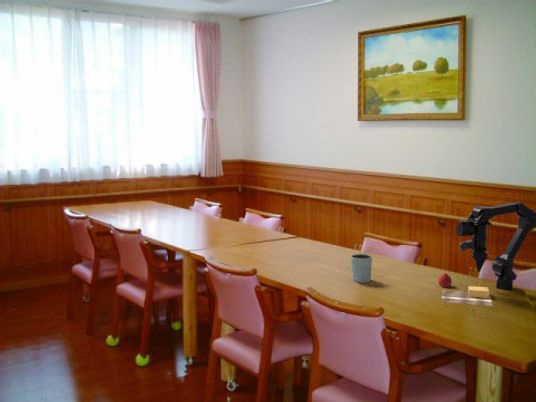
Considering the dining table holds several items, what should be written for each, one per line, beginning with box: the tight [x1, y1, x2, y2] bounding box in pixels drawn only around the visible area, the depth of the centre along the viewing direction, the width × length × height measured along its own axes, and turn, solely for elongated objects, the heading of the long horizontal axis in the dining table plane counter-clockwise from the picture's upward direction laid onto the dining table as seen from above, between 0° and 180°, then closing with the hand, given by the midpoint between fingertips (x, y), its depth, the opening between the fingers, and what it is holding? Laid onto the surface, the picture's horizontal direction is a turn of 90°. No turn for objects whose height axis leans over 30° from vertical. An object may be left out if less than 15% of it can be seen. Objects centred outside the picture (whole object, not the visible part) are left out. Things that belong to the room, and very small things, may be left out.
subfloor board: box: [441, 289, 493, 307], centre depth 253 cm, size 20×18×2 cm
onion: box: [437, 271, 453, 288], centre depth 270 cm, size 6×6×8 cm
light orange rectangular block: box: [467, 285, 490, 298], centre depth 256 cm, size 8×6×3 cm
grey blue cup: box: [350, 253, 373, 284], centre depth 285 cm, size 10×10×12 cm
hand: (478, 269), depth 262 cm, fingers open, 6 cm apart
